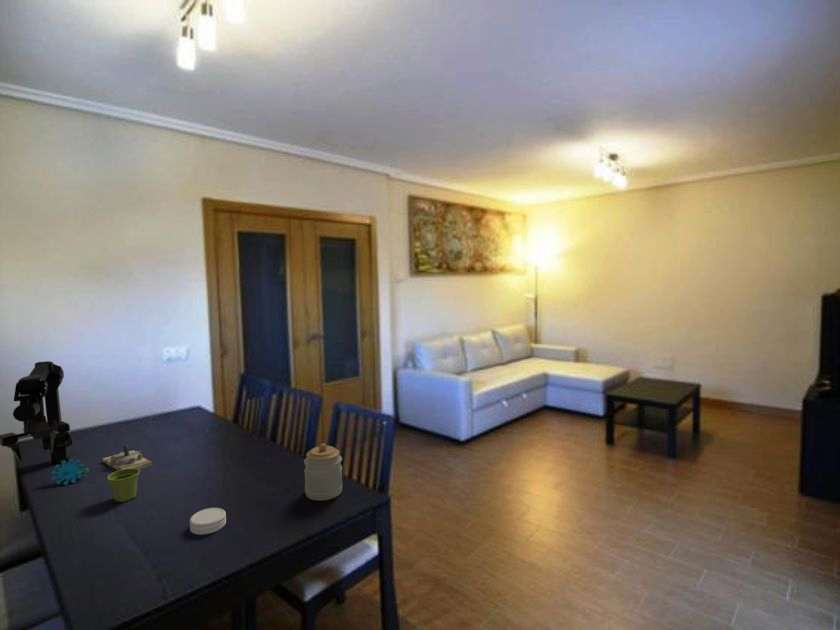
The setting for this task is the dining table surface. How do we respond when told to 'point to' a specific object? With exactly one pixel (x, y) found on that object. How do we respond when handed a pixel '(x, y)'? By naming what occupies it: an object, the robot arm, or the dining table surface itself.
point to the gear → (69, 471)
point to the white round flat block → (207, 521)
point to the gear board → (135, 465)
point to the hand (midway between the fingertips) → (37, 456)
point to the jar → (323, 473)
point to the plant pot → (124, 483)
